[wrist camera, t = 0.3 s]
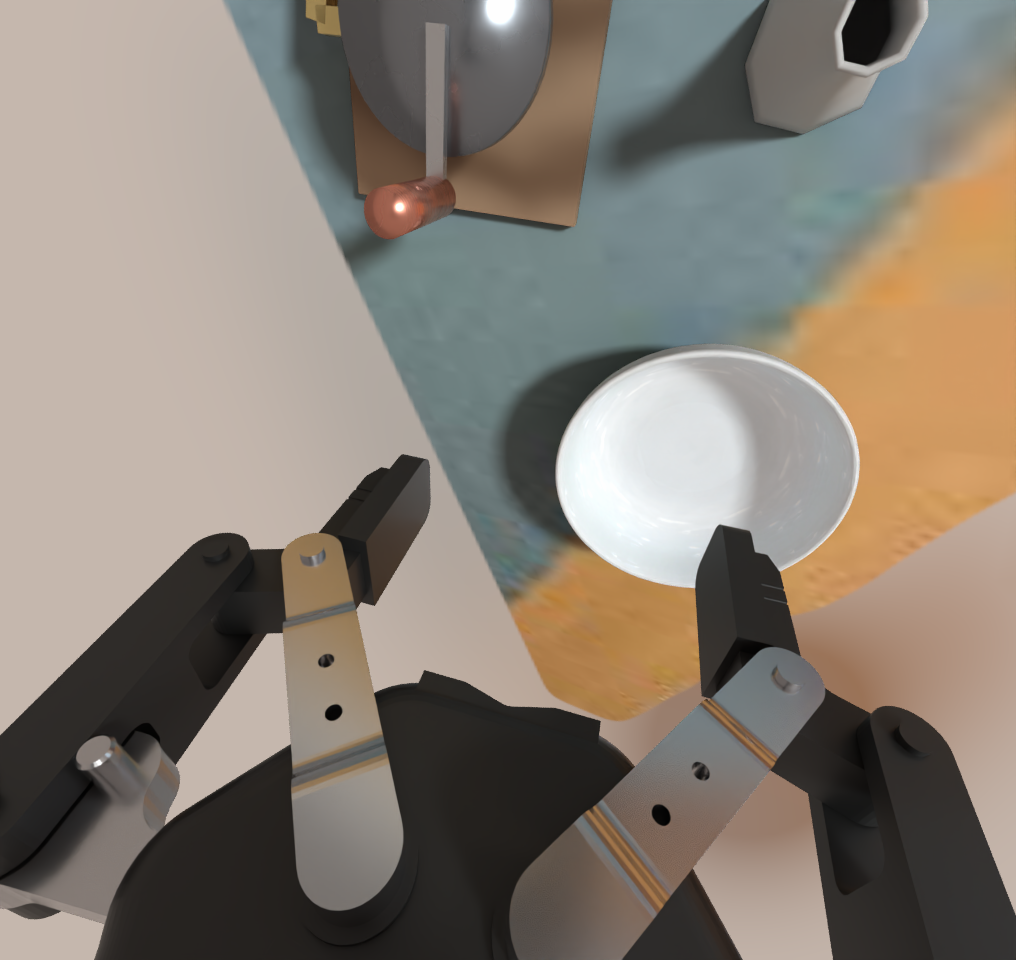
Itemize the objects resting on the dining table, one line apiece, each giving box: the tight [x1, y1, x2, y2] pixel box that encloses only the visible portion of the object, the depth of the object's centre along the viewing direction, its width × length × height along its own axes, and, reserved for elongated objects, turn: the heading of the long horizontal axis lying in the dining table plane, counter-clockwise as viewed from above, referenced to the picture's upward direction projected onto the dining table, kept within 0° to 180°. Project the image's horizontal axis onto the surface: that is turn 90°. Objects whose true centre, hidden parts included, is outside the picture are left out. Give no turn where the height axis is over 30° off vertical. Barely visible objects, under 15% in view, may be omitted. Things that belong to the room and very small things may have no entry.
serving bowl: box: [555, 344, 860, 588], centre depth 39 cm, size 21×21×7 cm
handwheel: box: [306, 0, 553, 239], centre depth 24 cm, size 18×15×13 cm
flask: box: [745, 0, 928, 134], centre depth 23 cm, size 7×7×10 cm
